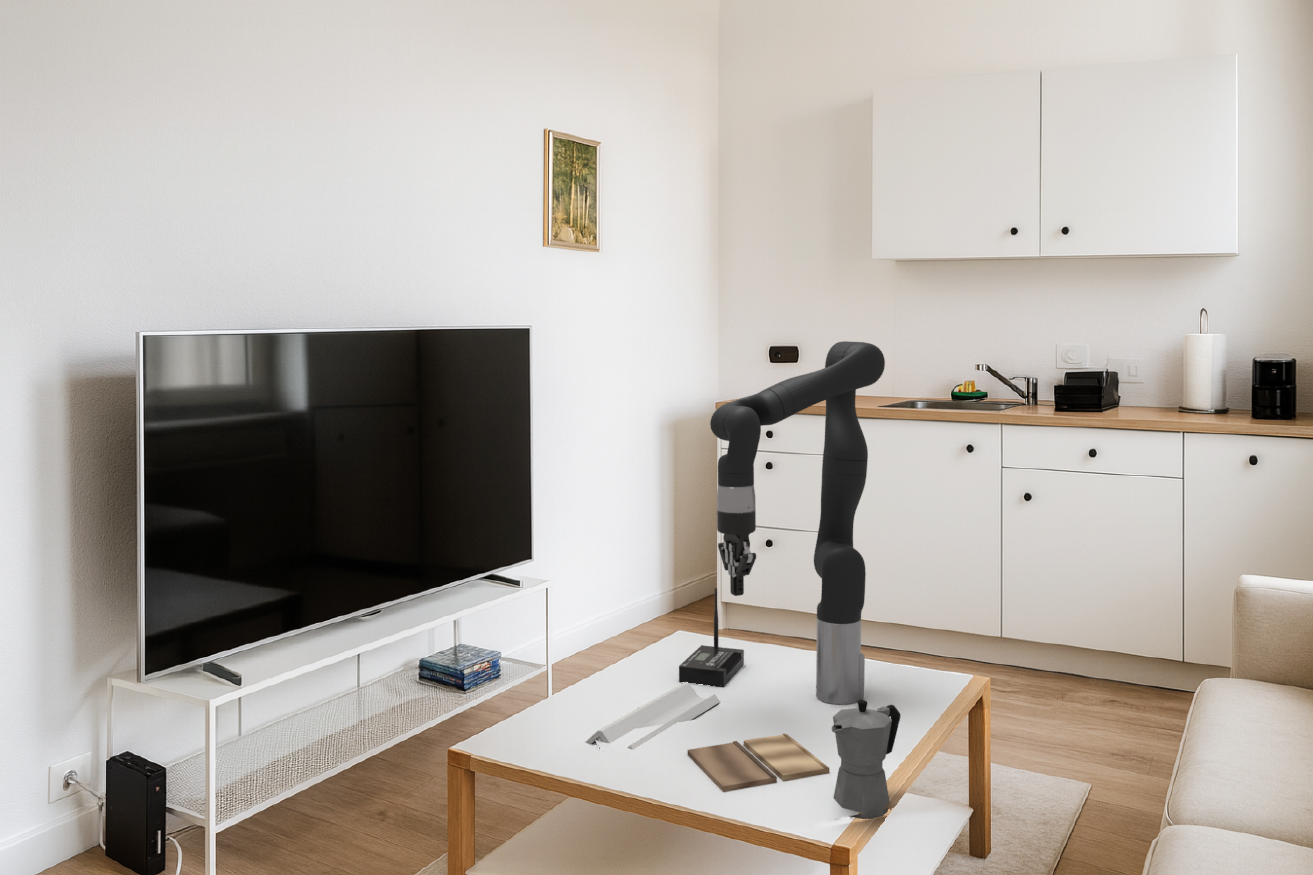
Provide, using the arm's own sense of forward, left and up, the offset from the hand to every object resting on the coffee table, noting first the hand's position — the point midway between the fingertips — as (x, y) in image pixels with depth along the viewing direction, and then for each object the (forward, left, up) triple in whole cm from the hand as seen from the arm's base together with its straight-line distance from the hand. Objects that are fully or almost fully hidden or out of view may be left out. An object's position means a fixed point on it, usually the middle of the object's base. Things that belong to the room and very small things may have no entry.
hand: (737, 594), depth 199 cm
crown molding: (+15, -7, -27) cm, 32 cm away
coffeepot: (-5, +39, -26) cm, 48 cm away
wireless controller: (-8, -31, -27) cm, 41 cm away
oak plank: (0, +21, -26) cm, 33 cm away
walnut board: (+11, +21, -26) cm, 35 cm away
